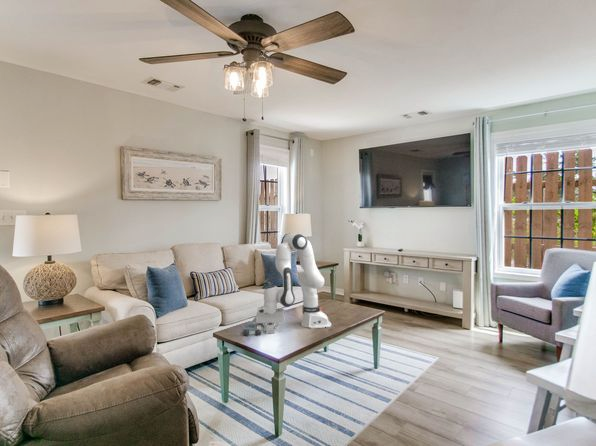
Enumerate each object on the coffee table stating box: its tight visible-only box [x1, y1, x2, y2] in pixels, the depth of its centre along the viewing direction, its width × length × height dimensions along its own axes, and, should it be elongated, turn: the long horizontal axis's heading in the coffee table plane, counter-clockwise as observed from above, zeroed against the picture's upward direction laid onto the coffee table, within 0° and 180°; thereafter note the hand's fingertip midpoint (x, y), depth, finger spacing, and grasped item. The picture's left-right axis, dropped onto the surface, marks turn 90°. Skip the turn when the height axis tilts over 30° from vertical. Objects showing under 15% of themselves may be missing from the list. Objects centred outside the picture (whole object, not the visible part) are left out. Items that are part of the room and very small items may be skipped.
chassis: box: [242, 324, 263, 337], centre depth 230 cm, size 12×11×4 cm
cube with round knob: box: [266, 323, 275, 335], centre depth 231 cm, size 5×5×7 cm
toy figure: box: [252, 316, 267, 327], centre depth 246 cm, size 17×10×15 cm, turn 168°
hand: (270, 328), depth 231 cm, fingers closed on cube with round knob, 5 cm apart
